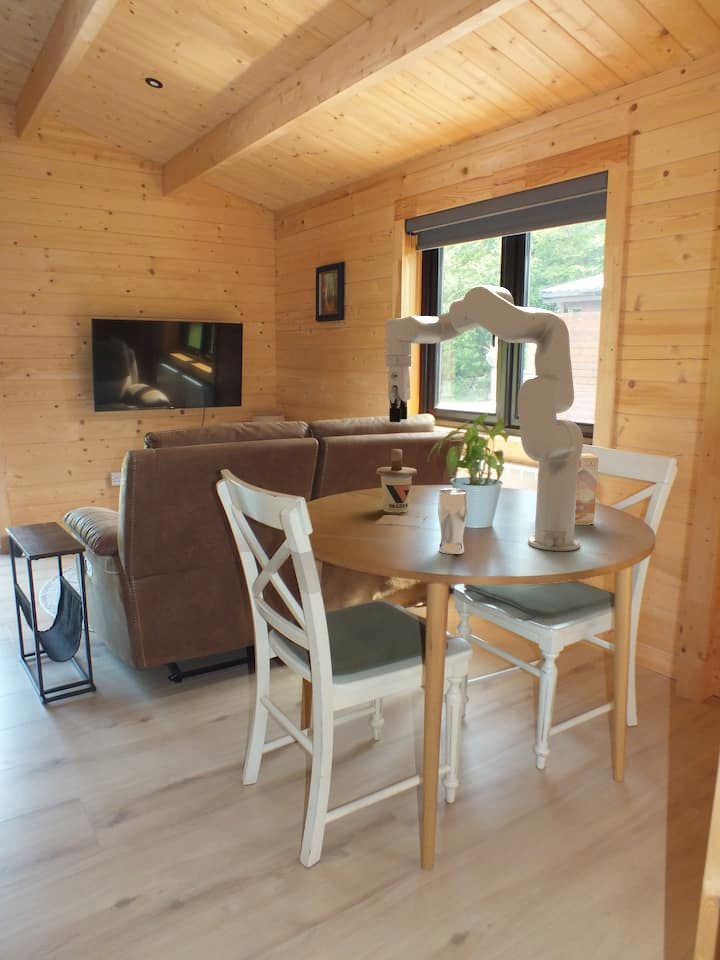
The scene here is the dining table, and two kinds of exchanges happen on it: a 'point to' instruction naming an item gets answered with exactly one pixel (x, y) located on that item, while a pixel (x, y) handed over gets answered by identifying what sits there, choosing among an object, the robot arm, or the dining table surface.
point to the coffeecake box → (586, 489)
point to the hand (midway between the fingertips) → (398, 420)
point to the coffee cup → (396, 493)
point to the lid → (396, 466)
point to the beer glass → (452, 519)
